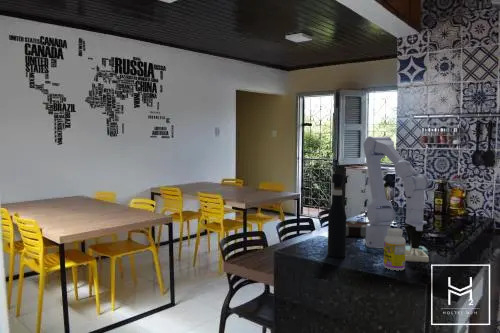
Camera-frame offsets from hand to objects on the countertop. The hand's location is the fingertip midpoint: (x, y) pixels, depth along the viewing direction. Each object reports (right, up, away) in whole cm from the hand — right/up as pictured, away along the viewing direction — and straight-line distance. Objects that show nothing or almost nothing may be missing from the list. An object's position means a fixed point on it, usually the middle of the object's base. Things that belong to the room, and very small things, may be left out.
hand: (413, 246), depth 140 cm
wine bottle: (-27, -4, +4) cm, 27 cm away
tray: (0, -4, 0) cm, 4 cm away
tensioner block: (+3, -4, +8) cm, 9 cm away
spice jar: (0, -4, 0) cm, 4 cm away
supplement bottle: (-11, -5, -11) cm, 16 cm away
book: (-7, -3, +40) cm, 41 cm away
